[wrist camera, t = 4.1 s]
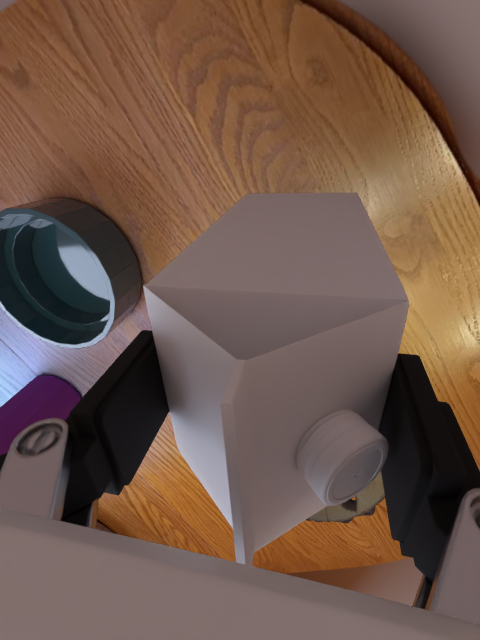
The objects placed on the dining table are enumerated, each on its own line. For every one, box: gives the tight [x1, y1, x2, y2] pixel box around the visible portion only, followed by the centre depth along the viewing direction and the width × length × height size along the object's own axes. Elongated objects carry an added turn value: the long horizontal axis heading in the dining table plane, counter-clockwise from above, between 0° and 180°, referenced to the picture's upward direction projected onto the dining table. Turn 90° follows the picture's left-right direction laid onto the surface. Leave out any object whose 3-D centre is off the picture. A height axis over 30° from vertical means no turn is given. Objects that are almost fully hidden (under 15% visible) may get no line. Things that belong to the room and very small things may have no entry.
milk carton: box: [143, 193, 409, 566], centre depth 15 cm, size 7×7×19 cm
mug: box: [0, 375, 81, 455], centre depth 46 cm, size 9×16×15 cm, turn 23°
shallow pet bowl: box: [0, 198, 141, 349], centre depth 35 cm, size 15×15×6 cm
